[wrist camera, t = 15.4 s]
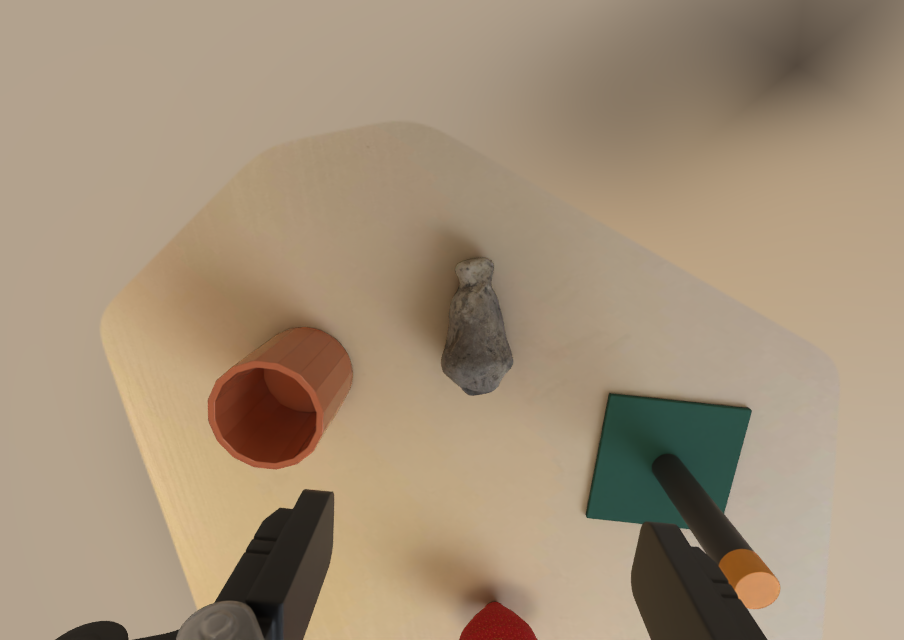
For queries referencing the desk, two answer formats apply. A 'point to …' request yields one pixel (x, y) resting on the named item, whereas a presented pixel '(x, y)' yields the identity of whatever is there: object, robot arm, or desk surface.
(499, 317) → the stone
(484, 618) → the strawberry
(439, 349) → the desk surface
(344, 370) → the pen cup
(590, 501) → the mat
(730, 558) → the marker
